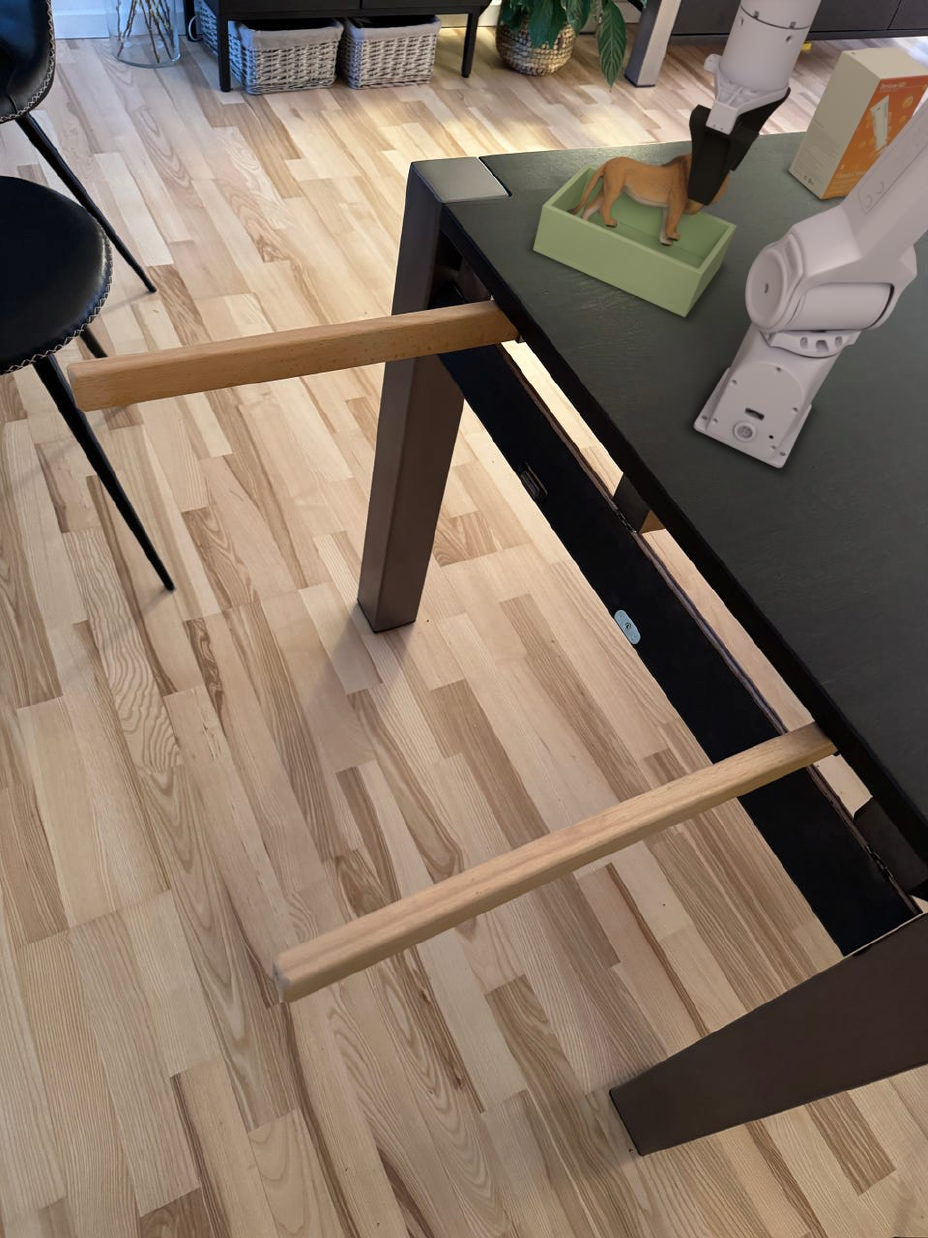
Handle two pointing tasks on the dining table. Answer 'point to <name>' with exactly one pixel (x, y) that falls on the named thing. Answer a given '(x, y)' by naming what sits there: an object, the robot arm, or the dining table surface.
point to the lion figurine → (645, 191)
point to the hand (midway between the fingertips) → (712, 182)
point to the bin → (633, 245)
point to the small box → (858, 118)
